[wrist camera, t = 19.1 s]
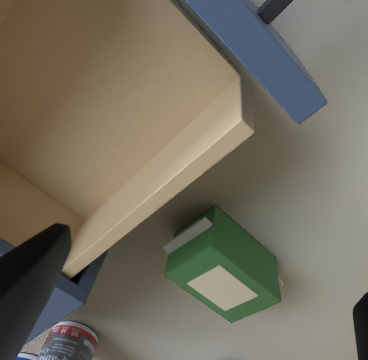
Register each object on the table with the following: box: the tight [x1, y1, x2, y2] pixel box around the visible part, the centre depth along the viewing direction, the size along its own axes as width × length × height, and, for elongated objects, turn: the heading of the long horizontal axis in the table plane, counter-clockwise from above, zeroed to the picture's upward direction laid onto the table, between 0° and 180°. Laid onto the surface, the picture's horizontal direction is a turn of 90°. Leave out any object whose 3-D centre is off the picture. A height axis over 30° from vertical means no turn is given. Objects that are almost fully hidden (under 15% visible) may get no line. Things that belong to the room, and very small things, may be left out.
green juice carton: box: [162, 206, 284, 323], centre depth 24 cm, size 9×5×4 cm, turn 47°
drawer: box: [0, 0, 327, 280], centre depth 14 cm, size 23×13×7 cm, turn 137°
